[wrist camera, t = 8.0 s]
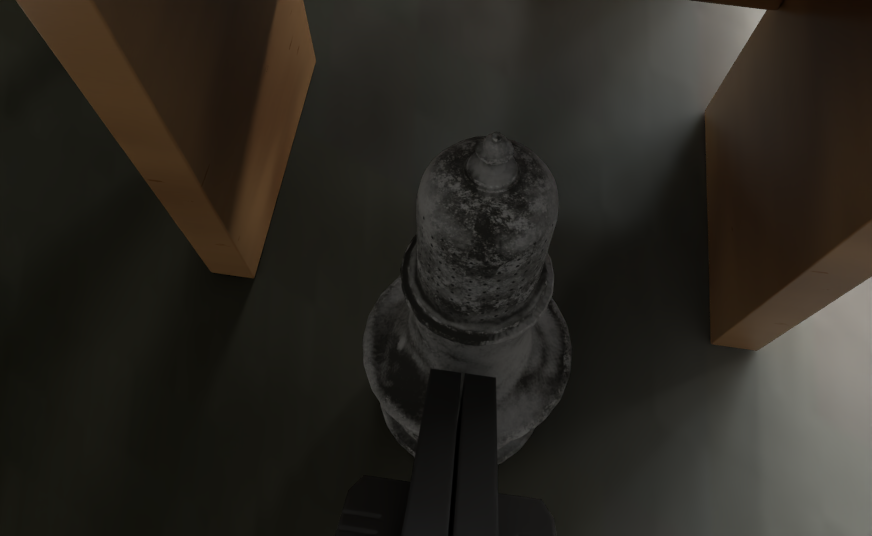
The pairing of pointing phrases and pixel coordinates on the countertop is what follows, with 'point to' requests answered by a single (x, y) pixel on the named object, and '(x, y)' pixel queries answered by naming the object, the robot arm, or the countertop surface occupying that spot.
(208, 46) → the desk
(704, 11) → the countertop surface
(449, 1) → the countertop surface
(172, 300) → the countertop surface
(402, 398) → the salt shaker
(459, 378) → the robot arm
